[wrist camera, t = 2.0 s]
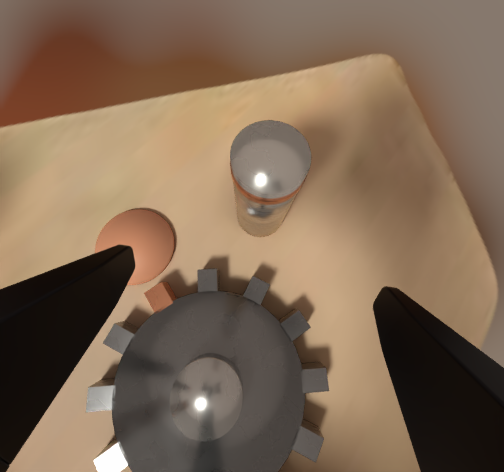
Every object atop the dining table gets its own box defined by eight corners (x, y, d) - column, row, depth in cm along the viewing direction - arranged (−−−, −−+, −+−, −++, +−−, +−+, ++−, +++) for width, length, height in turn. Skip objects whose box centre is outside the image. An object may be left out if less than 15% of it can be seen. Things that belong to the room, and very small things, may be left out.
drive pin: (291, 226, 22) (326, 174, 12) (248, 244, 21) (249, 206, 12) (271, 186, 23) (289, 109, 13) (229, 203, 22) (216, 135, 12)
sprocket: (354, 472, 17) (376, 509, 14) (115, 560, 16) (86, 621, 13) (284, 248, 21) (290, 242, 18) (88, 302, 20) (60, 303, 17)
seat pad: (185, 265, 21) (184, 265, 20) (109, 297, 20) (107, 297, 20) (160, 199, 22) (159, 198, 22) (88, 227, 21) (86, 226, 21)
